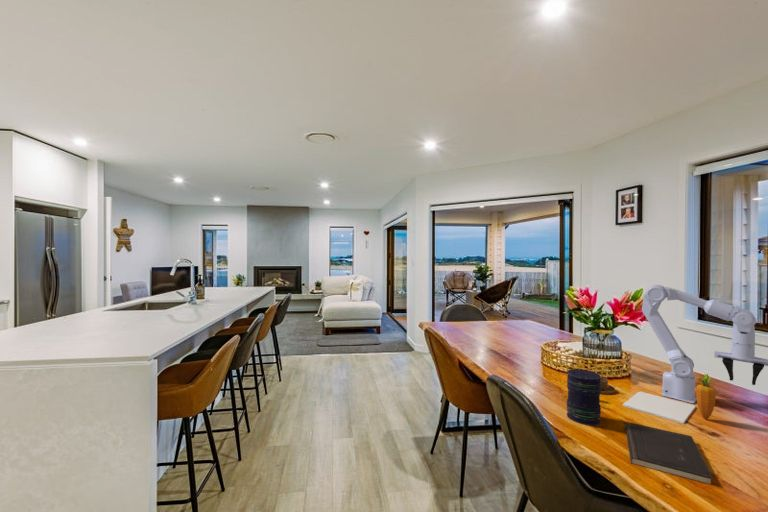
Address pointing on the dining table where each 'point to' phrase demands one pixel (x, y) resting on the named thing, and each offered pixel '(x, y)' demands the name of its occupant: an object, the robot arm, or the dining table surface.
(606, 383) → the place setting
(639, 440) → the hardcover book
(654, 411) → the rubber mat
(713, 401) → the carrot
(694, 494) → the dining table surface
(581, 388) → the storage jar
